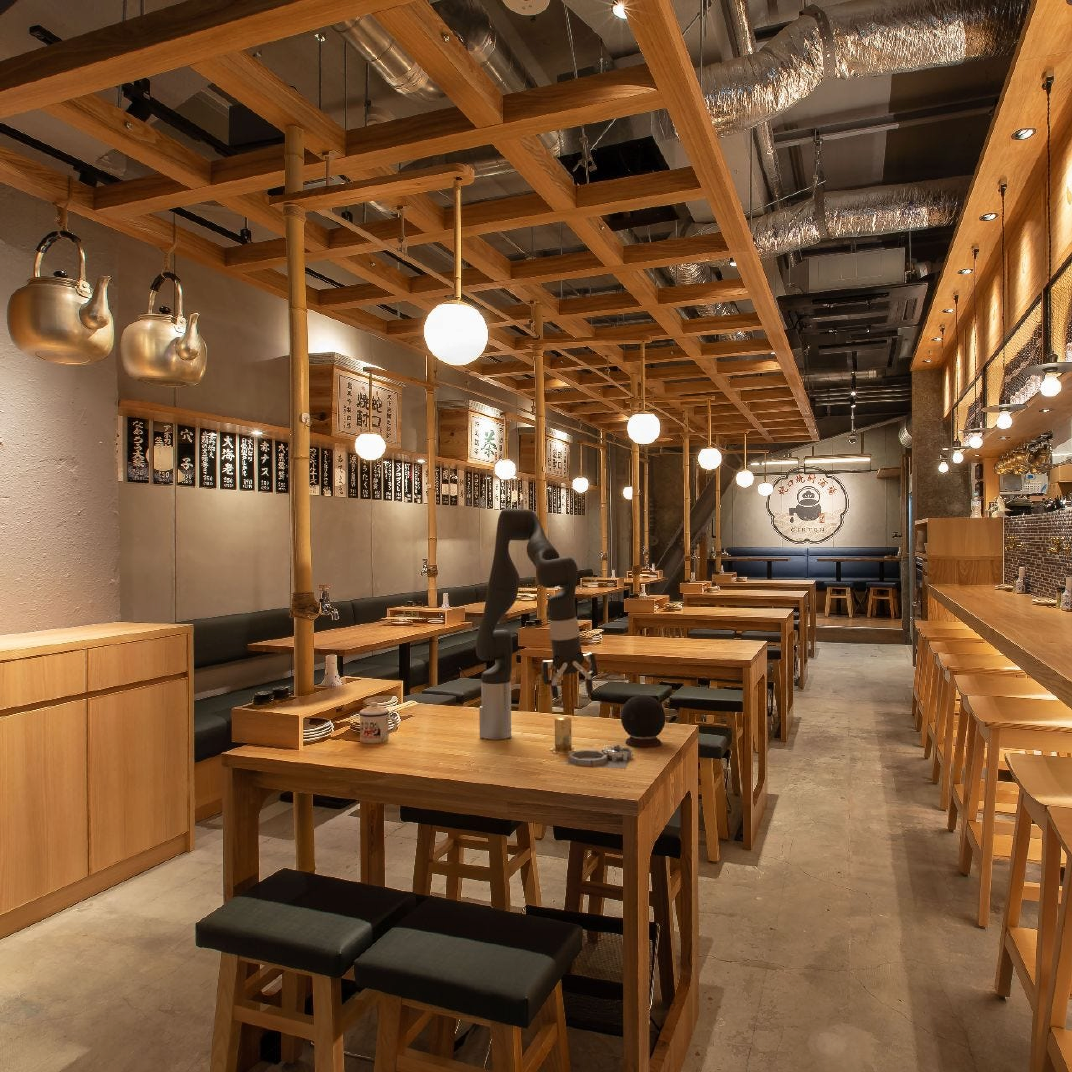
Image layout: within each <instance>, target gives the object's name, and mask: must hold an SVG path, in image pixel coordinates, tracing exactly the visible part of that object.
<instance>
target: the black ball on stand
mask: <svg viewBox="0 0 1072 1072" xmlns="http://www.w3.org/2000/svg"><path fill="white" fill-rule="evenodd" d="M666 719H667V717H666V713H665V709H664V707H663V706H662V703H660V702H659V701H658V700H657V699H656V698H654V697H652V696H650V695H648V694H647V695H646V694H638V695H635V696H632V697H630V698H629V699H628V700H626V702H625V703H624V705H623V707H622V708H621V712H620V721H621V726H622V728H623V730H624V731H625V732H626V733H627V734H628V736H629V737H627V739H625V742H624V743H625V745H626V746H628V747H631V748H632V747H633V748H638V749H651V748H658V747H661V746H662V741H661V739H660V738H658V736H659V735H660V734H661V733H662V731H663V729H664V727H665V724H666Z"/></svg>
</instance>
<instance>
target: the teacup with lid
mask: <svg viewBox="0 0 1072 1072" xmlns="http://www.w3.org/2000/svg"><path fill="white" fill-rule="evenodd" d="M358 714H359V741H360V742H361V743H363V744H379V743H380V744H381V743H385V742H387V741H388V740H389V735H390V734H392V733H394V732H395V731H396V730H397V727H398V720H397V719H396V718H395V717H392V716H389V714H390V711H389V709H388V708H386V707H383V706H381V705H379V704H378V702H376V701H373V702H371V703H370V705H369V706H367V707H365V708H363V709H361V710H359V713H358ZM389 720H390V721H392V722H393V724H394V725H393V728H392V730H389Z"/></svg>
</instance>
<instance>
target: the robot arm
mask: <svg viewBox="0 0 1072 1072" xmlns="http://www.w3.org/2000/svg"><path fill="white" fill-rule="evenodd" d="M541 524H542V523H541V522H540V520H539V518H538V515H537V514H536V513H535V511H533V510H531V509H527V508H526V509H525V508H503V509H502V510H501V511H500V512H499V515H498V519H497V524H496V533H495V534H496V536H495V545H494V553H493V560H492V564H491V569H490V575H489V578H488V579H489V580H488V584H487V590H486V596H485V597H486V598H485V601H484V602H485V604H484V609H483V614H482V618H481V621H480V623H479V627H478V631H477V635H476V639H475V654H476V656H477V658H478V659H479V660H480V661H496V663H495V664H494V665H493V666H492V667H490V668H487V670H484V671H482V673H481V676H480V677H481V678H480V679H481V680H480V681H481V682H480V683H481V686H480V687H481V705H480V706H479V707H478V708H479V711H478V713H479V718H478V719H479V738H481V739H485V740H491V741H494V740H495V741H498V740H506V739H509V738H511V737H512V680H511V678H512V677H511V676H512V671H513V666H512V665H513V664H512V663H513V639H512V638H513V637H512V635H511V633H510V631H508V630H507V629H496V626H497V625H498V623H499V622H500V620H501V619H502V618H503V617H504V616H505V615H506V614H507V612H508V611H509V610H510V609H511V608H512V607H513V605H514V604H515V602H516V601H517V597H518V594H519V588H520V584H521V583H520V582H521V580H520V574H519V572H518V570H517V568H516V566H515V564H514V562H513V560H512V557H511V555H510V550H509V547H510V542H511V541H520V542H521V541H528V542H527V545H526V553H527V556H528V558H529V560H530V561H531V563H532V564H533V565H534V568H535V570H536V578H537V582H538V584H539V585H540V586H541V587H543V588H548V589H551V588H555V587H560V586H561V590H560V591H559V592H558V593H555V594H554V595H552V596H550V597H549V598H548V599H547V603H546V605H547V611H548V619H549V633H550V635H549V636H550V642H551V651H552V659H551V660H550V659H549V660H546V659H542V661H541V676H542V682H543V683H544V685H548V686H550V688H551V689H550V690H551V696H552V697H553V699H554V698H555V700H559V699H560V697H559V690H558V689H559V688H558V684H557V683H558V682H559V680H560V679H561V677H562V676H563V675H565V676H566V675H570V674H577V673H578V672H580V674H582V675H583V676H584V677H585V678H584V682H585V683H584V684H585V691H586V694H591V693H592V691H593V689H594V688H593V682H592V679H593V678H594V677H597V676H598V675H599V673H598V665H597V660H596V655H595V653H593V652H592V651H588V653H584V654H583V650H582V643H581V642H582V641H581V634H580V632H581V631H580V627H579V623H578V619H577V618H578V617H577V612H576V604H575V603H576V602H575V598H576V588H577V582H578V576H579V575H578V574H579V573H578V571H579V570H578V565H577V563H576V561H575V560H574V559H573V558H571V557H570V556H566V557H565V556H564V557H560V554H559V552H558V551H557V549H556V548H555V547H554V545H552V543H551V542H550V541H549V539H548V538H547V535H546V534H545V531H544V529H543V526H542V525H541ZM585 660H586V661H587V662H588V663H589V666H590V671H587V670H586V669H585V668H584V667H583V666H582V665H583V664H584V661H585ZM551 666H554V668H555V670H554V671H553V674H552V676H551V678H550V677H549V669H551Z"/></svg>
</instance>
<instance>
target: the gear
mask: <svg viewBox="0 0 1072 1072" xmlns="http://www.w3.org/2000/svg"><path fill="white" fill-rule="evenodd" d="M601 752H603V754H608V760H612V761H627V759H633V756H632V754H633V752H632V750H631V748H629V747H623V746H620V745H619V744H614V745H613V746H606V747H605V748H602V749H601Z"/></svg>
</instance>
